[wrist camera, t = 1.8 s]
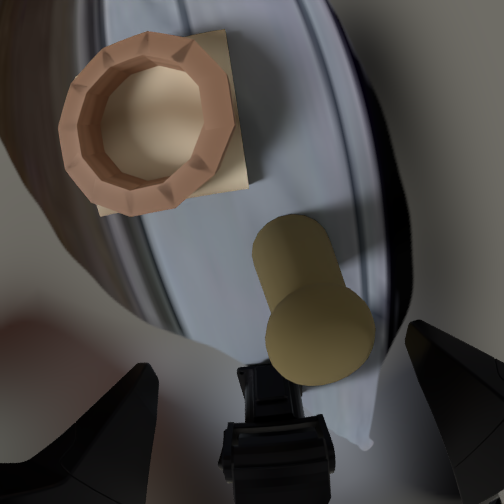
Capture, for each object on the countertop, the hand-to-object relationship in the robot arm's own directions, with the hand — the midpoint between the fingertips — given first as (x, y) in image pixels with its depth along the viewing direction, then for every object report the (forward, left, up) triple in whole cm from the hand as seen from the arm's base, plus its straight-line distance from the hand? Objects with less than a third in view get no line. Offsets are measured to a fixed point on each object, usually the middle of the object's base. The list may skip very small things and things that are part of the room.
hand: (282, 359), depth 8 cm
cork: (-2, -2, -13) cm, 13 cm away
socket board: (+9, +6, -12) cm, 16 cm away
